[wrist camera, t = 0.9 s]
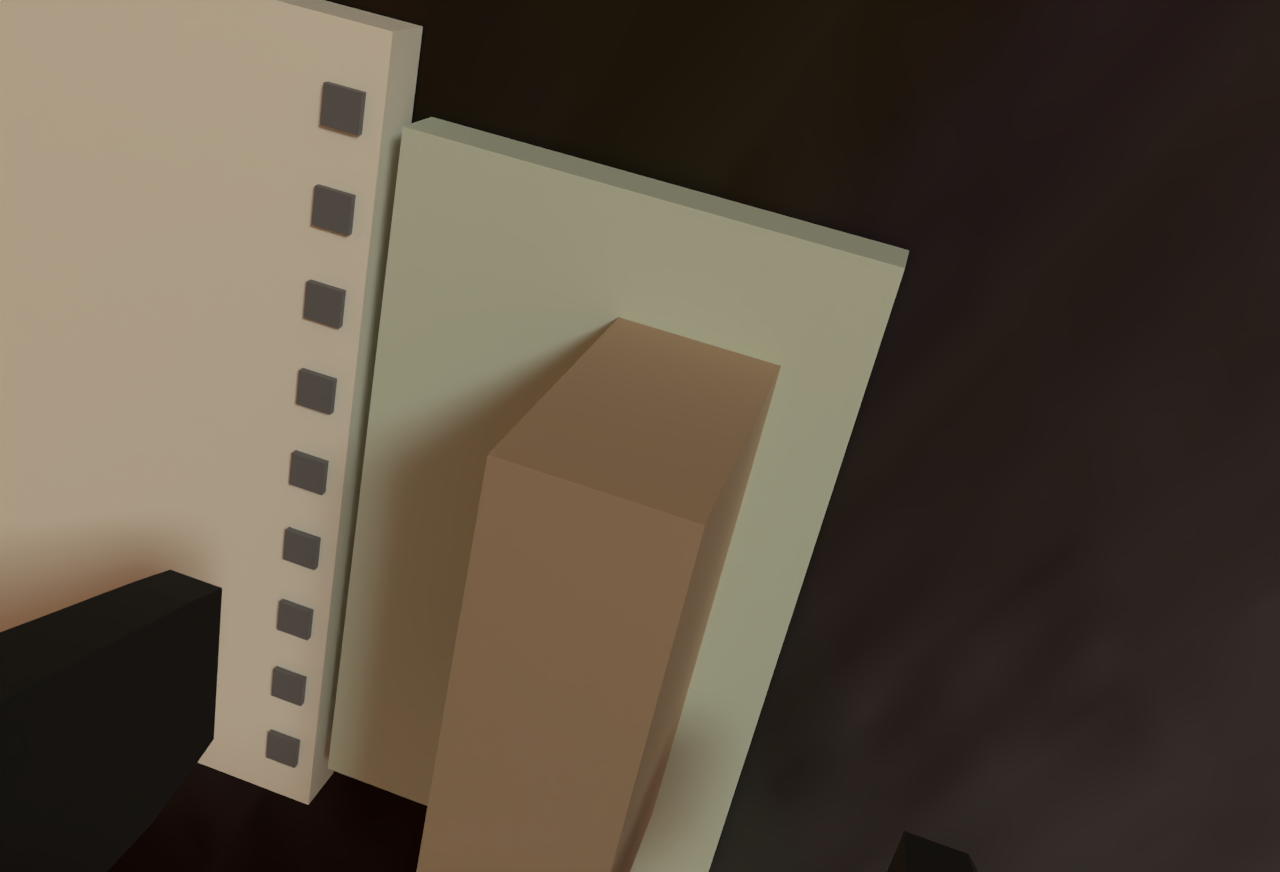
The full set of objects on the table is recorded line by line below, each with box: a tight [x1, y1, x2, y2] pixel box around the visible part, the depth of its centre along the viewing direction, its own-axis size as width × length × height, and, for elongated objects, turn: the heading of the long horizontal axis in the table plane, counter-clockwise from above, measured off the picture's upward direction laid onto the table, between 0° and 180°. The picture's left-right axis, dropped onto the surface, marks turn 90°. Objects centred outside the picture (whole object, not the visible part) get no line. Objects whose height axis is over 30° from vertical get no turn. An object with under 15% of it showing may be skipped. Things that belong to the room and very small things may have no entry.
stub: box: [328, 117, 909, 872], centre depth 14 cm, size 10×6×5 cm, turn 168°
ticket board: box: [0, 0, 423, 805], centre depth 17 cm, size 12×7×1 cm, turn 168°
